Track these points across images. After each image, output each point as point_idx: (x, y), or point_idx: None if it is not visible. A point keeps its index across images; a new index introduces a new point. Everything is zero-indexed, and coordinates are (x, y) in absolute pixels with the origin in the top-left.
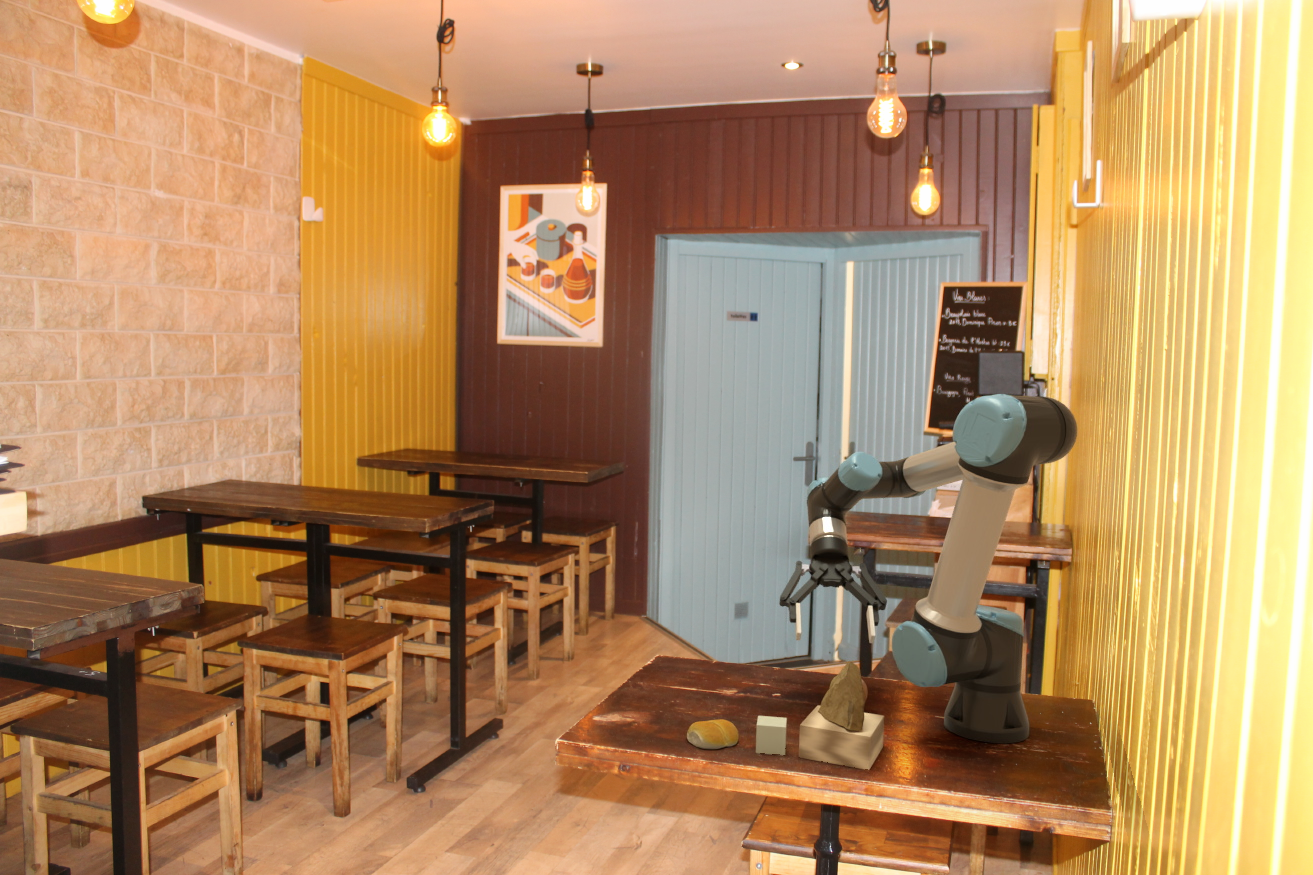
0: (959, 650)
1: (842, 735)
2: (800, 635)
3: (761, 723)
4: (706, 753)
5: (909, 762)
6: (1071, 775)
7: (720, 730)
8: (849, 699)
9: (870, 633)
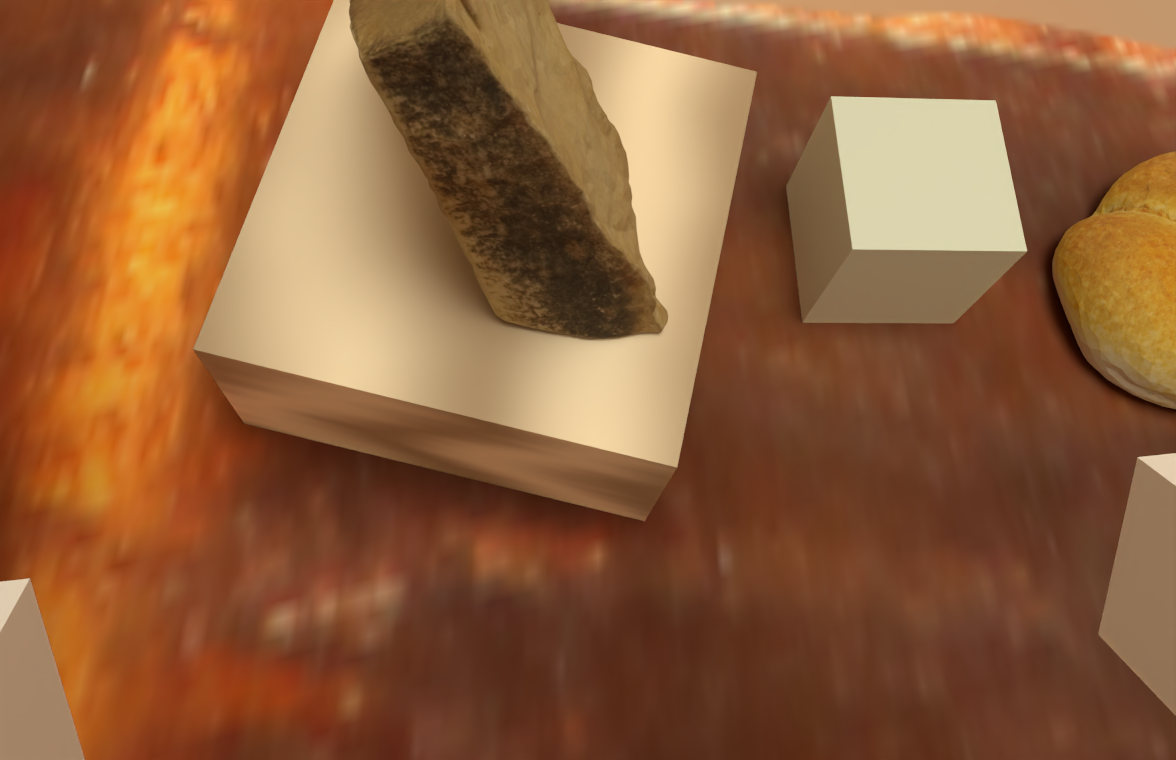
0: None
1: None
2: (1127, 524)
3: (975, 127)
4: (1145, 137)
5: (130, 221)
6: None
7: (1169, 202)
8: None
9: (21, 676)
